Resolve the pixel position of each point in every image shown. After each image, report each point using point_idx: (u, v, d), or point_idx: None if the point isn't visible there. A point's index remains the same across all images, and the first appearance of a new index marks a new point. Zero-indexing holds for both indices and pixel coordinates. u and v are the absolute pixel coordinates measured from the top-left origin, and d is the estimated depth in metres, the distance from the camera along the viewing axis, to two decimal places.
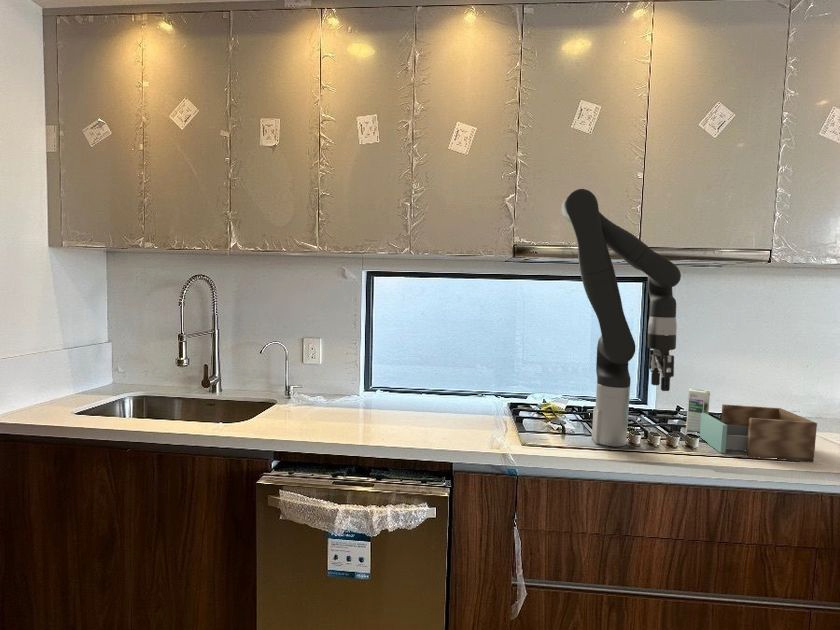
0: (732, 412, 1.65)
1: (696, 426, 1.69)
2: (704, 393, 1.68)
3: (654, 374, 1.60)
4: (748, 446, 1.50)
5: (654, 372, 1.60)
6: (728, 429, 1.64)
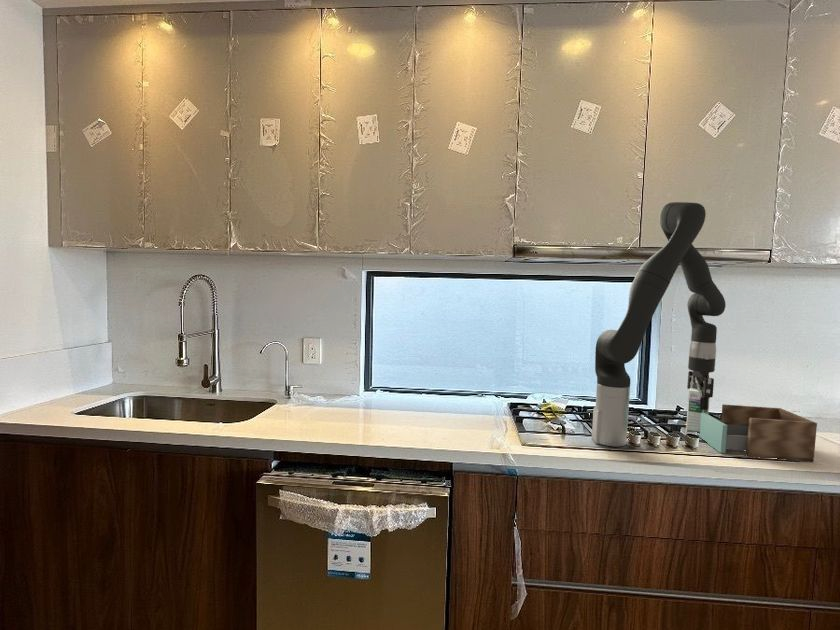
0: (732, 412, 1.65)
1: (696, 426, 1.69)
2: None
3: None
4: (748, 446, 1.50)
5: None
6: (728, 429, 1.64)
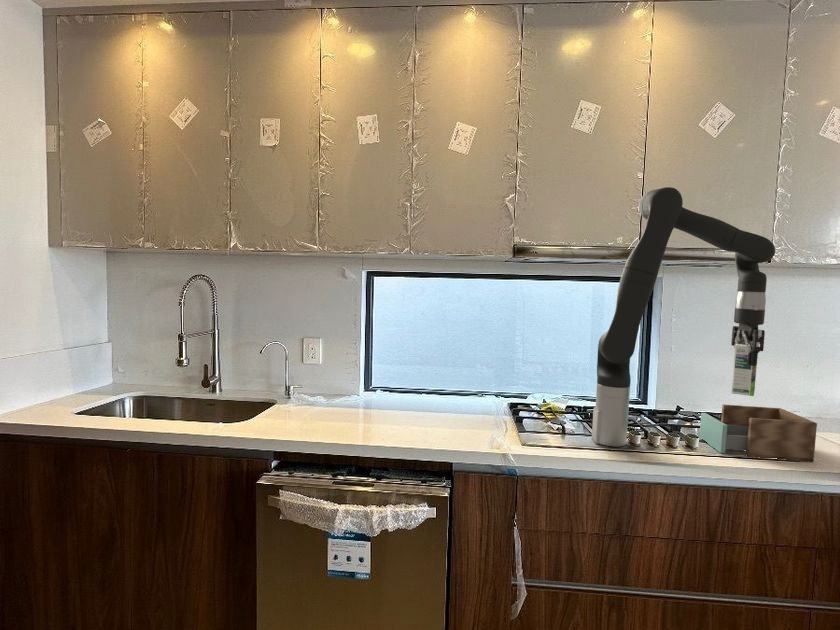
0: (732, 412, 1.65)
1: (744, 384, 1.54)
2: None
3: None
4: (748, 446, 1.50)
5: None
6: (728, 429, 1.64)
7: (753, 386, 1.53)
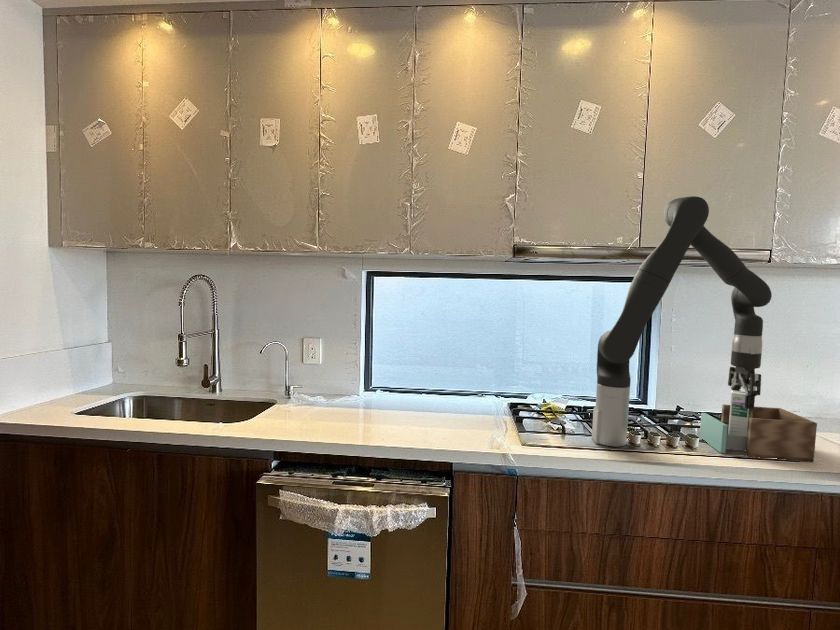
0: None
1: (740, 431, 1.55)
2: None
3: None
4: (748, 446, 1.50)
5: (735, 389, 1.61)
6: (728, 429, 1.64)
7: None
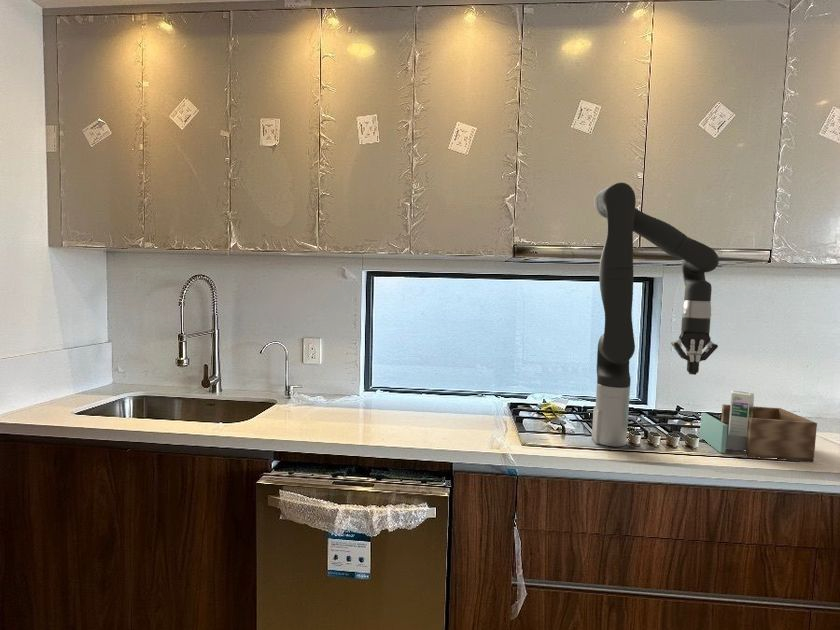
0: None
1: (740, 431, 1.55)
2: (749, 396, 1.54)
3: None
4: (748, 446, 1.50)
5: (693, 361, 1.60)
6: (728, 429, 1.64)
7: None
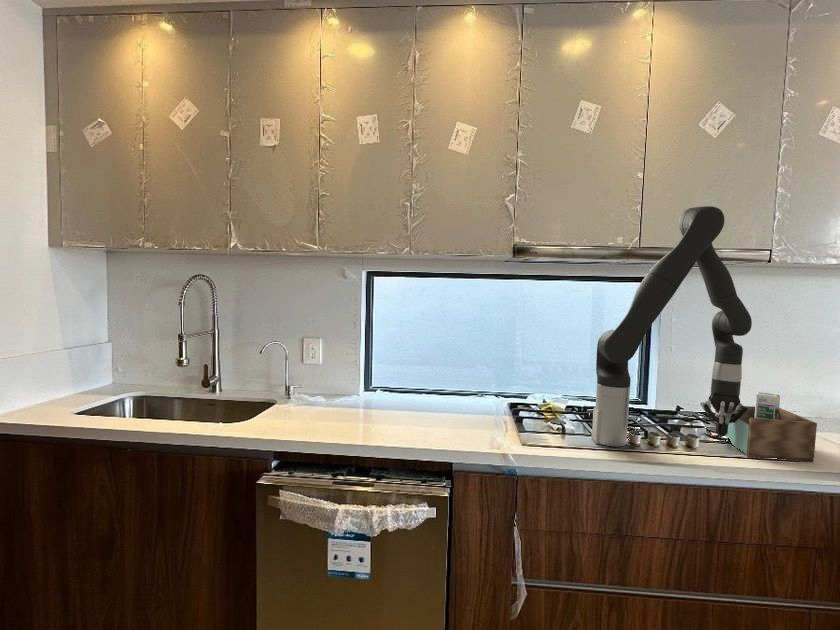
0: (732, 412, 1.65)
1: None
2: (774, 398, 1.53)
3: None
4: (748, 446, 1.50)
5: None
6: None
7: None
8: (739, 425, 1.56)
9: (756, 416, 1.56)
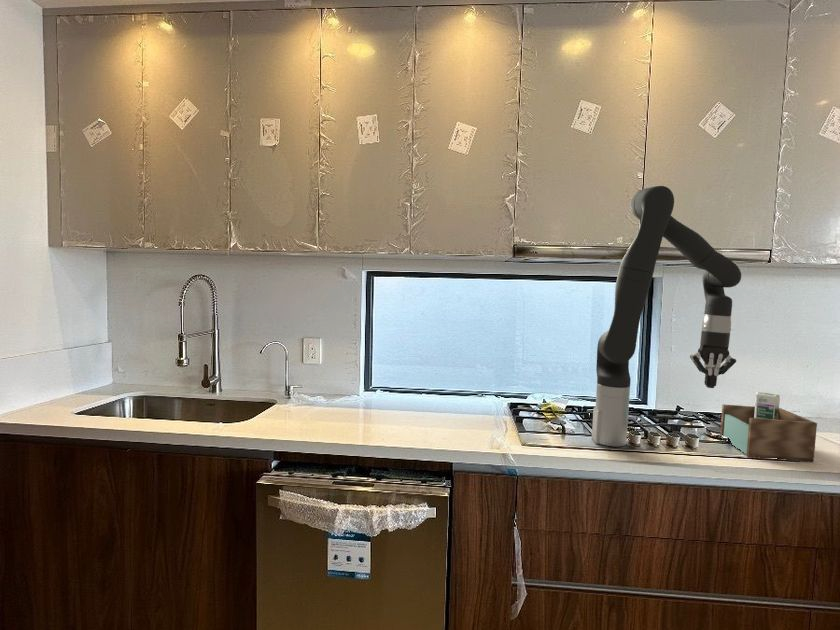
0: (732, 412, 1.65)
1: None
2: (774, 398, 1.54)
3: None
4: (748, 446, 1.50)
5: None
6: None
7: None
8: (739, 425, 1.56)
9: (756, 416, 1.56)
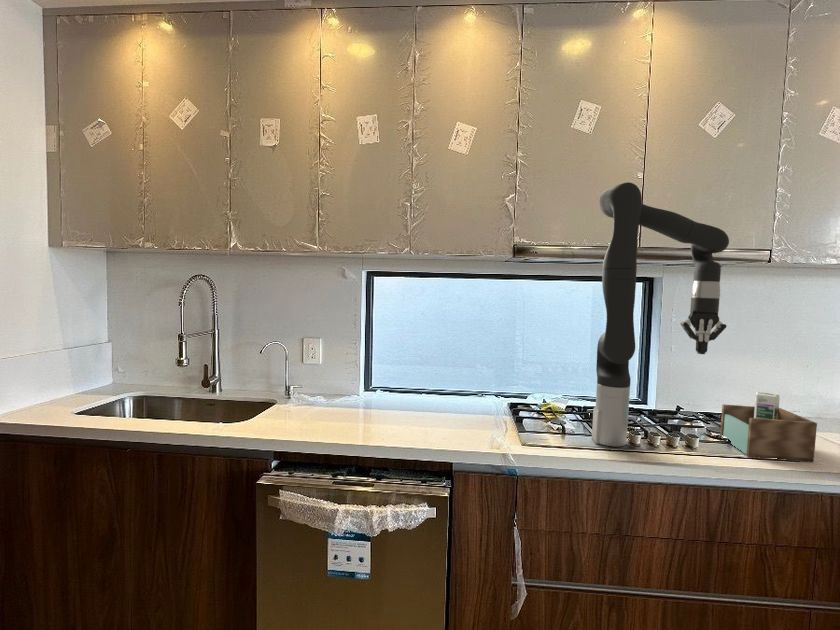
0: (732, 412, 1.65)
1: None
2: (774, 398, 1.54)
3: None
4: (748, 446, 1.50)
5: None
6: None
7: None
8: (739, 425, 1.56)
9: (756, 416, 1.56)
